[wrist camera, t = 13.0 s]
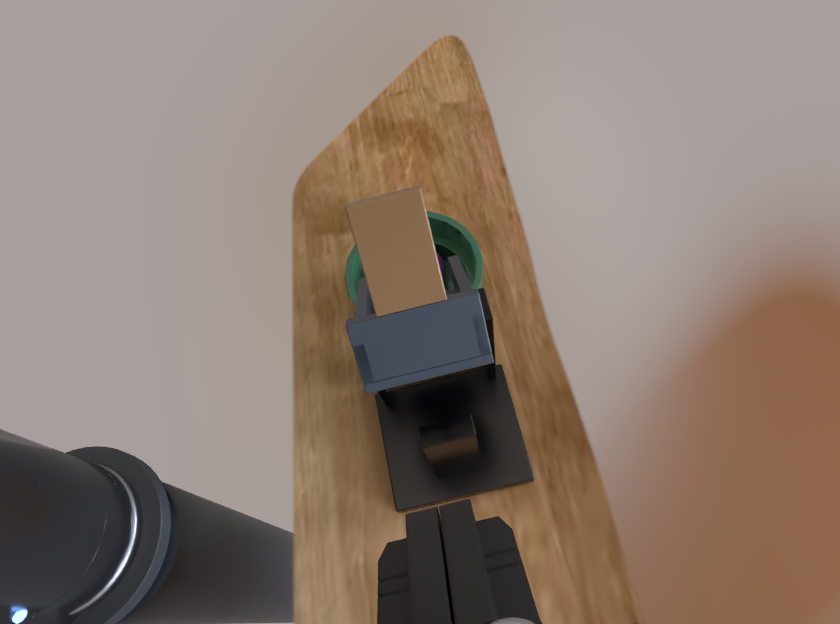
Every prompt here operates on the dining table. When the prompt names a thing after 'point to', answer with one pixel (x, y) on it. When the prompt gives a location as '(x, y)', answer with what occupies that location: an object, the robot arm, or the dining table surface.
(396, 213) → the chute
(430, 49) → the dining table surface
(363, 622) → the dining table surface
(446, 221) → the bowl
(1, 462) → the robot arm
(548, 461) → the dining table surface
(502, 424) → the stand
